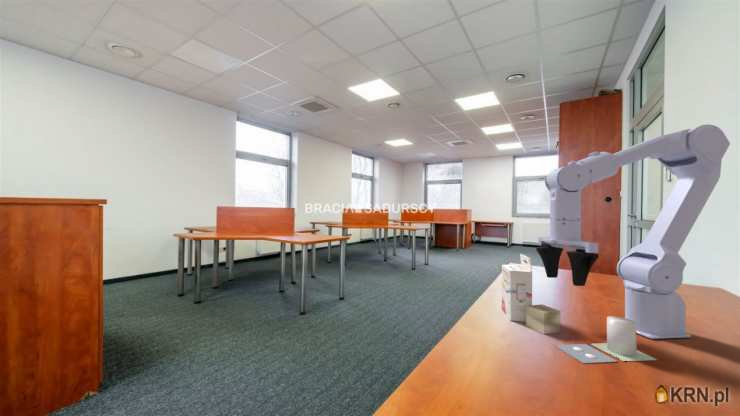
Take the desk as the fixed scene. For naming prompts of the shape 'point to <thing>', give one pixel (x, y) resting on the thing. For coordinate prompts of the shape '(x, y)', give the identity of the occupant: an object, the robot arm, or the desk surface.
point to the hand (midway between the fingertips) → (564, 281)
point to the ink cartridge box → (517, 289)
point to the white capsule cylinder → (621, 335)
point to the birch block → (543, 318)
